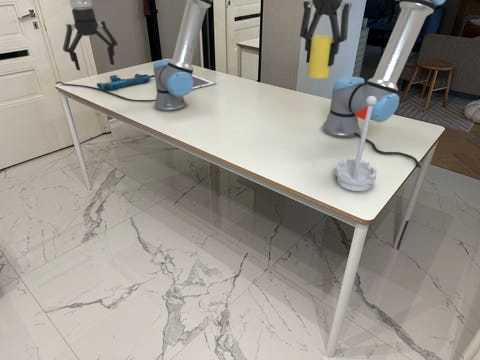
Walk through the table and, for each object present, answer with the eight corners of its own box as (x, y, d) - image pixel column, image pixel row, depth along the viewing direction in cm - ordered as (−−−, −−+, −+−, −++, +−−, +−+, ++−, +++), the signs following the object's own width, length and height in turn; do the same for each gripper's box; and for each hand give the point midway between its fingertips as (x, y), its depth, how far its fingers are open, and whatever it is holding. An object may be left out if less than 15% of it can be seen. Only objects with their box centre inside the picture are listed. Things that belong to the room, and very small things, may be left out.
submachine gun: (141, 68, 225) (159, 74, 208) (142, 74, 227) (160, 80, 210) (89, 78, 206) (104, 86, 190) (91, 84, 208) (106, 92, 192)
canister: (328, 73, 110) (333, 35, 103) (328, 79, 104) (334, 39, 98) (308, 72, 111) (312, 34, 105) (307, 77, 106) (311, 38, 99)
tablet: (159, 78, 216) (159, 77, 215) (186, 72, 227) (186, 71, 226) (187, 90, 195) (187, 90, 195) (215, 83, 206) (215, 82, 206)
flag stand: (357, 168, 122) (375, 86, 106) (382, 188, 112) (406, 100, 96) (326, 176, 118) (340, 91, 102) (349, 196, 108) (368, 106, 92)
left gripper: (48, 12, 116) (65, 74, 128) (119, 6, 129) (129, 63, 140) (43, 9, 121) (60, 70, 133) (111, 4, 134) (122, 60, 145)
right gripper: (291, -23, 95) (286, 61, 108) (361, -22, 86) (346, 71, 98) (303, -24, 100) (296, 56, 113) (369, -23, 91) (354, 65, 104)
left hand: (95, 66), depth 137 cm, fingers open, 13 cm apart
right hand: (319, 63), depth 106 cm, fingers closed on canister, 6 cm apart
